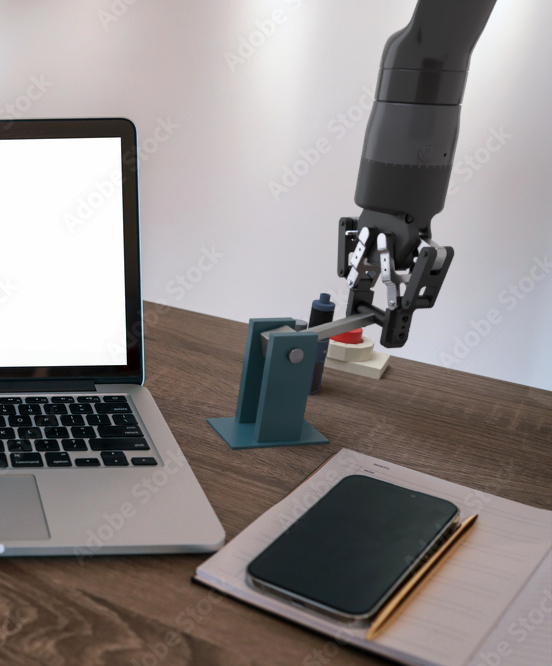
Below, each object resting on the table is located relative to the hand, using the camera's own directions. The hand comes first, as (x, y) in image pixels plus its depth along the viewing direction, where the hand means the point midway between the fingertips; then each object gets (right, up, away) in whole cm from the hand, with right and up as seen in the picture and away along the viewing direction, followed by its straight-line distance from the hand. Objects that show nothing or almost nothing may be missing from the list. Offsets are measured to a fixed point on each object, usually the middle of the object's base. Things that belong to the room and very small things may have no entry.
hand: (373, 335), depth 74 cm
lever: (-5, -1, -1) cm, 5 cm away
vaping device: (-3, -7, +13) cm, 15 cm away
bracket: (-10, -10, +1) cm, 14 cm away
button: (+5, -1, +19) cm, 20 cm away
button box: (+4, -4, +21) cm, 22 cm away
